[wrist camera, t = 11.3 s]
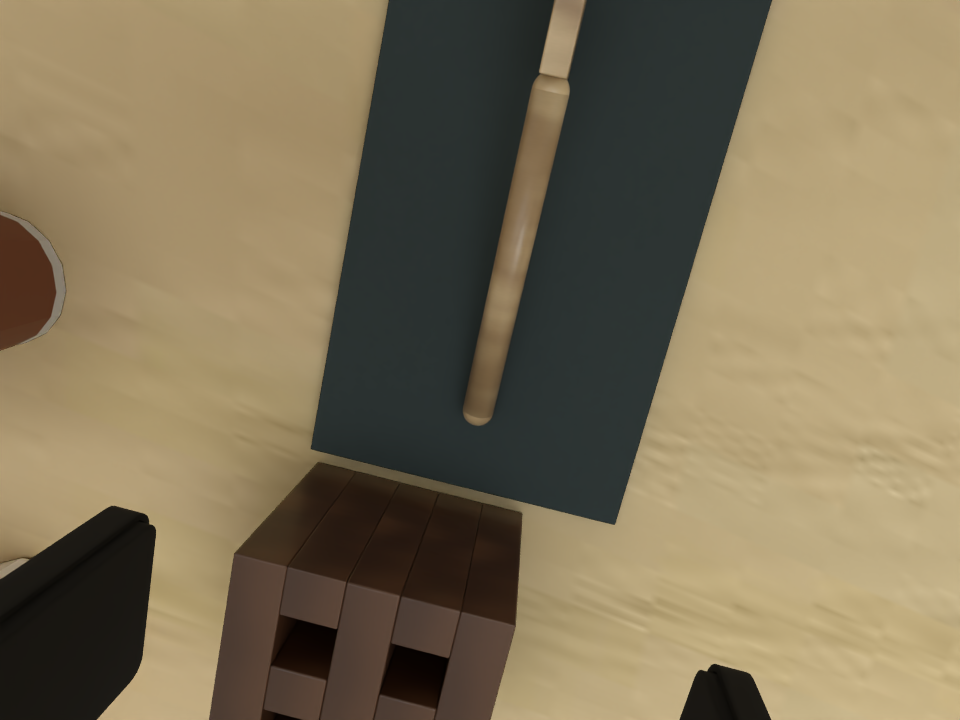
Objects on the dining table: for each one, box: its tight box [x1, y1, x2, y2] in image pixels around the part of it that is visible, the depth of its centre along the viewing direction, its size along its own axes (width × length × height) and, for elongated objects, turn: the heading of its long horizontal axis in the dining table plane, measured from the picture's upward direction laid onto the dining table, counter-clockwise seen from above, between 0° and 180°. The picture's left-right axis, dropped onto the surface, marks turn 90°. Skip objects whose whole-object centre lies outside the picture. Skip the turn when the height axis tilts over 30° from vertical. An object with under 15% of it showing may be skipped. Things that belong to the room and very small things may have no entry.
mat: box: [311, 0, 772, 525], centre depth 28 cm, size 15×24×1 cm, turn 167°
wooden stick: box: [463, 0, 587, 426], centre depth 26 cm, size 1×5×20 cm
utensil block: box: [209, 462, 522, 720], centre depth 28 cm, size 10×10×9 cm
